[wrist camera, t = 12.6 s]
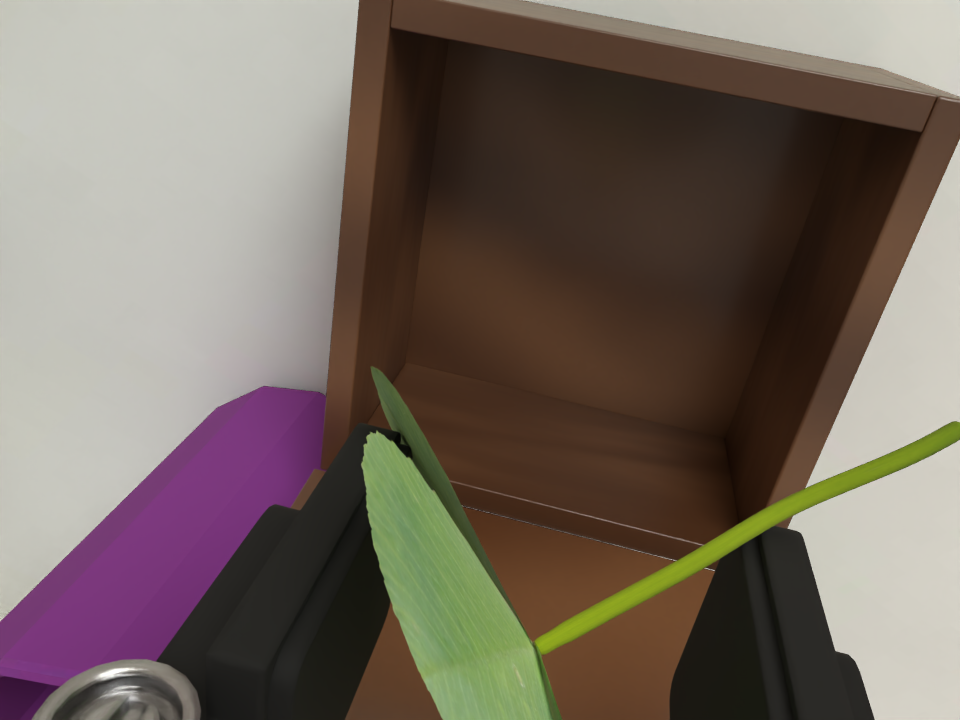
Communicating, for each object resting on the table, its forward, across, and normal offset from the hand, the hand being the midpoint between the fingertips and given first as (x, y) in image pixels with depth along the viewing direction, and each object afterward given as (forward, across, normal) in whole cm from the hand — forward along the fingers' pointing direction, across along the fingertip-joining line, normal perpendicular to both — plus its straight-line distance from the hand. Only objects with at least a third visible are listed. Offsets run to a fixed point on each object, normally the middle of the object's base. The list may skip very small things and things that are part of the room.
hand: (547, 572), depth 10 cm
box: (+18, 0, +1) cm, 18 cm away
